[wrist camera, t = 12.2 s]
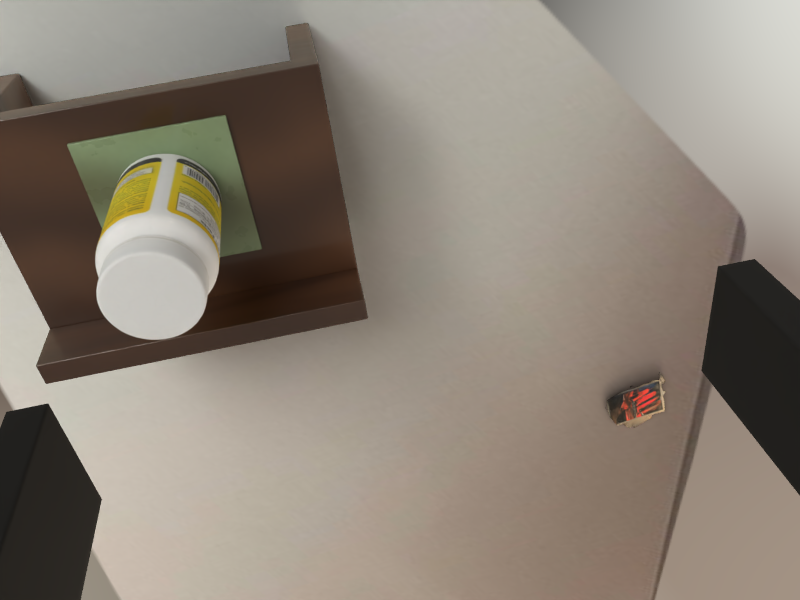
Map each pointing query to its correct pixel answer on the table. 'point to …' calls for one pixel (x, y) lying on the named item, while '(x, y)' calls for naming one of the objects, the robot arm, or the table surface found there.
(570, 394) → the table surface
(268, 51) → the table surface
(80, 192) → the shelf
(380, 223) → the table surface
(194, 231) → the supplement bottle
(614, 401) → the matchbox
